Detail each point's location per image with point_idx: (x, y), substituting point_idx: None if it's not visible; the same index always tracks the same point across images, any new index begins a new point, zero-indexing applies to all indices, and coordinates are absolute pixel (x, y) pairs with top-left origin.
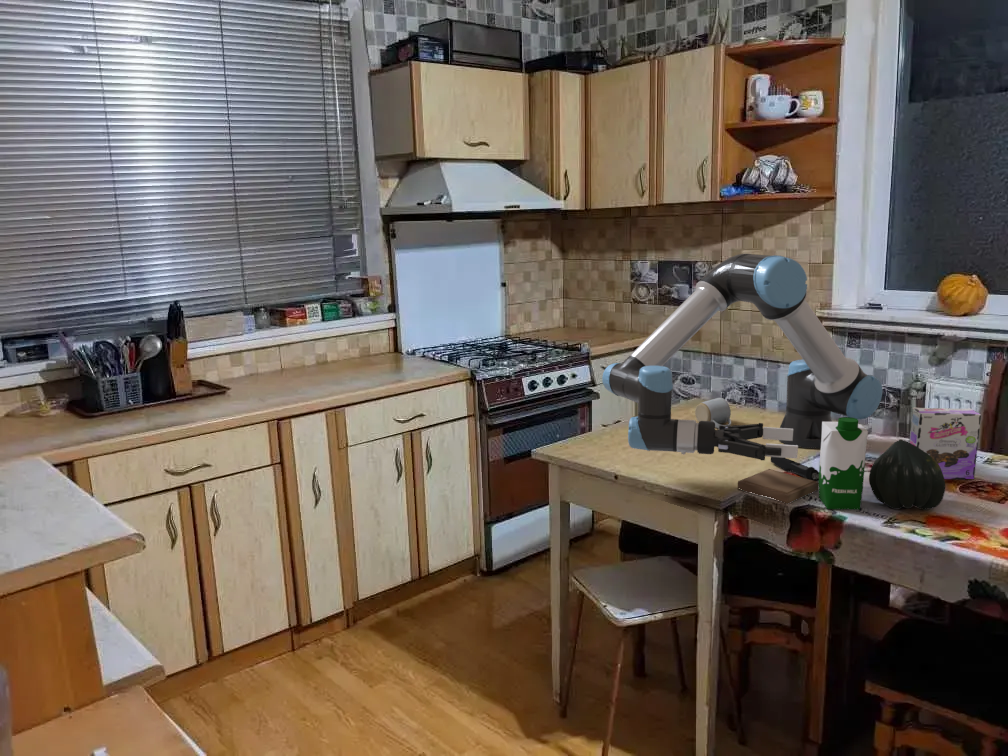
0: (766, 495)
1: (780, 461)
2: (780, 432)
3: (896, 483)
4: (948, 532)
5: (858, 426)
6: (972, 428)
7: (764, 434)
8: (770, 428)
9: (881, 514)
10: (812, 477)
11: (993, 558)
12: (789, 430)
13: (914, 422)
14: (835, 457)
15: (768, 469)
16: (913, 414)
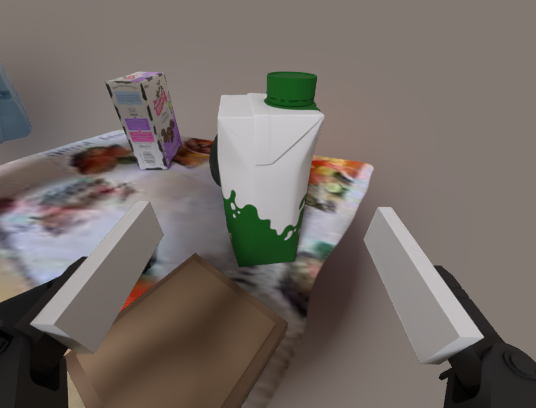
0: (250, 389)
1: (11, 316)
2: (128, 249)
3: None
4: (324, 174)
5: (265, 95)
6: (166, 91)
7: (85, 334)
8: (87, 282)
9: None
10: None
11: (370, 165)
12: (143, 214)
13: (128, 102)
14: (307, 177)
15: (66, 361)
16: (116, 91)
